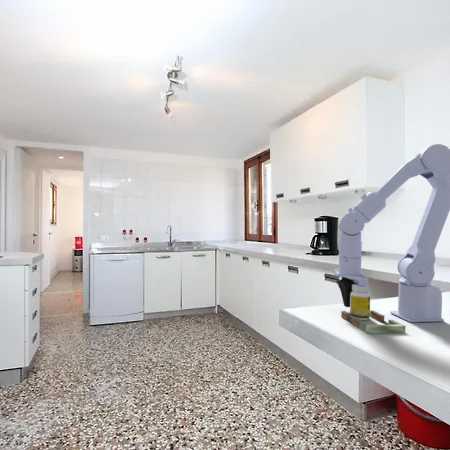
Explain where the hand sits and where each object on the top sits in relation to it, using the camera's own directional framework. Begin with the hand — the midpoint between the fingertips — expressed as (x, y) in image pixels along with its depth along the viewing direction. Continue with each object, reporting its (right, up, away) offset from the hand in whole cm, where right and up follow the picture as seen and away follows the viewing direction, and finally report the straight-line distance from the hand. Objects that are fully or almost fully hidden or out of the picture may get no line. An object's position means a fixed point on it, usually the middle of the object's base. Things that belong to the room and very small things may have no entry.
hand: (348, 306), depth 87 cm
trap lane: (+1, -2, -10) cm, 10 cm away
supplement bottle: (+1, -2, -5) cm, 6 cm away
